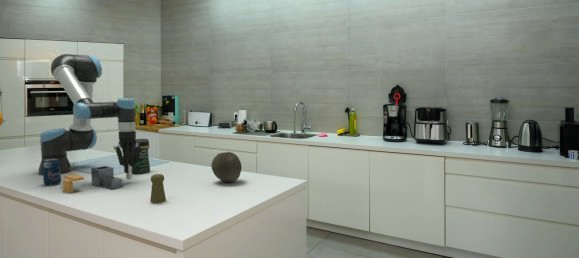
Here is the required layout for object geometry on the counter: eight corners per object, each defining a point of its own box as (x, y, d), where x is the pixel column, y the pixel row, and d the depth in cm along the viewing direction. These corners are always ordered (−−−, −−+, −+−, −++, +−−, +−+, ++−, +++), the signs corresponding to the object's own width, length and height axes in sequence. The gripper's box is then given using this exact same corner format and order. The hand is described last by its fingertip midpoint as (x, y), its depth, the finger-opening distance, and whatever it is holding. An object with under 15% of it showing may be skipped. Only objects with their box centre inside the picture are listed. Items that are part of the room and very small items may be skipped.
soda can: (51, 186, 168) (49, 161, 167) (40, 185, 170) (38, 160, 169) (64, 183, 175) (63, 158, 174) (53, 181, 177) (52, 157, 176)
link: (124, 187, 168) (123, 170, 168) (109, 190, 163) (109, 172, 162) (106, 181, 178) (105, 165, 177) (91, 184, 172) (91, 168, 171)
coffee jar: (136, 175, 192) (134, 140, 190) (128, 173, 197) (126, 139, 195) (152, 172, 199) (151, 138, 197) (145, 170, 204) (143, 137, 202)
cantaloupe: (230, 177, 188) (230, 148, 186) (247, 182, 178) (247, 152, 176) (206, 182, 178) (206, 152, 176) (223, 187, 168) (222, 155, 166)
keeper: (61, 190, 162) (60, 176, 161) (75, 187, 167) (74, 174, 166) (70, 193, 157) (69, 179, 156) (84, 190, 162) (83, 176, 161)
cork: (160, 197, 152) (159, 172, 151) (169, 200, 148) (168, 174, 147) (147, 201, 147) (146, 174, 146) (156, 204, 144) (155, 176, 142)
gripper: (118, 132, 166) (120, 183, 168) (144, 130, 176) (145, 177, 179) (109, 131, 170) (111, 180, 172) (135, 129, 180) (137, 175, 183)
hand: (129, 179), depth 175 cm, fingers closed
